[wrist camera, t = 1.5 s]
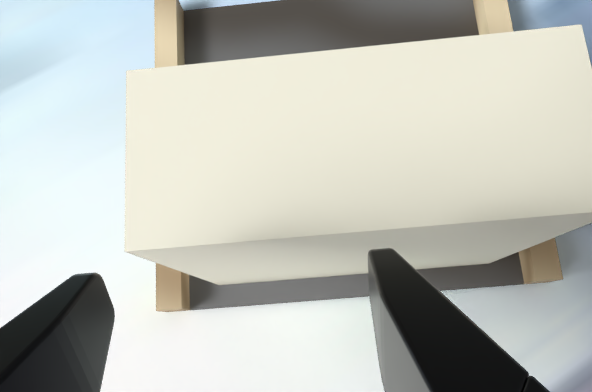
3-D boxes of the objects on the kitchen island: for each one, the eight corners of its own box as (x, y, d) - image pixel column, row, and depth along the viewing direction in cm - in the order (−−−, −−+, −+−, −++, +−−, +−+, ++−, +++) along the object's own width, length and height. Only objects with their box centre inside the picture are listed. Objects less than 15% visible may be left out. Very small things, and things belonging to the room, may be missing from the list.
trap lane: (547, 282, 21) (563, 279, 19) (167, 311, 21) (156, 310, 20) (489, -20, 24) (499, -40, 23) (164, 15, 25) (154, -3, 23)
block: (488, 263, 21) (625, 209, 11) (219, 285, 21) (124, 251, 12) (471, 157, 22) (581, 24, 12) (215, 180, 22) (126, 70, 13)
